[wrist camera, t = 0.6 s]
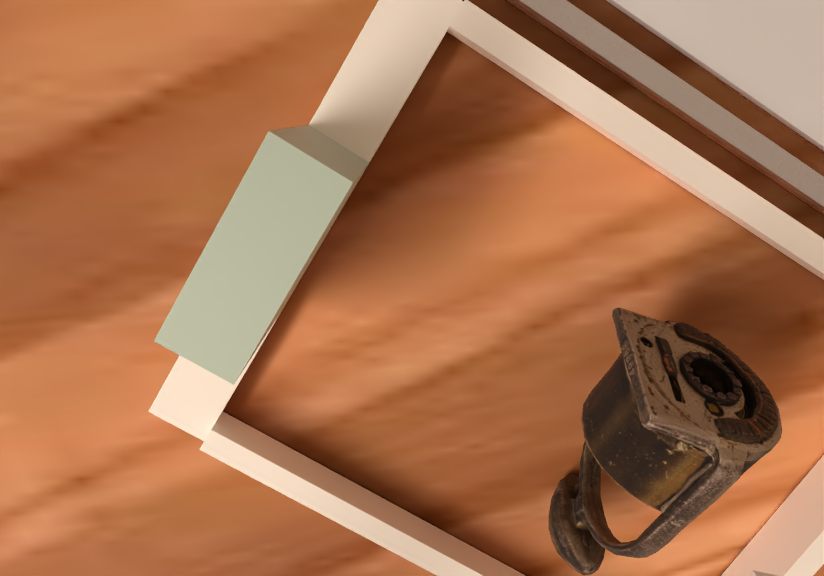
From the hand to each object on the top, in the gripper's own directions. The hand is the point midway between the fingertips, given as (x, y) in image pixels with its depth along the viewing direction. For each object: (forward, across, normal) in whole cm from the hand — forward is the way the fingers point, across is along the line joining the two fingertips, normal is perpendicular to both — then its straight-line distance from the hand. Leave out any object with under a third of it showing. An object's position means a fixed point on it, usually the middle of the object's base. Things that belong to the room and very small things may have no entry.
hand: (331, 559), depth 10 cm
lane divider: (+22, +13, +9) cm, 27 cm away
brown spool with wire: (+22, +14, -5) cm, 26 cm away
